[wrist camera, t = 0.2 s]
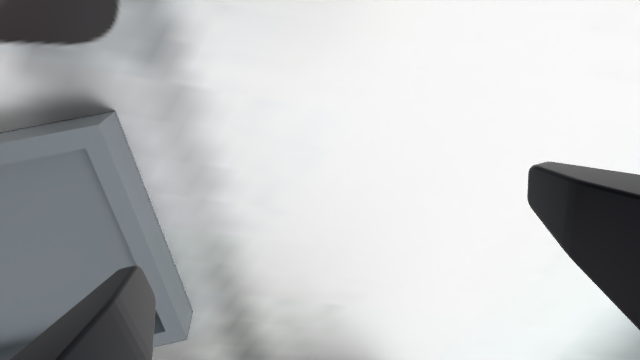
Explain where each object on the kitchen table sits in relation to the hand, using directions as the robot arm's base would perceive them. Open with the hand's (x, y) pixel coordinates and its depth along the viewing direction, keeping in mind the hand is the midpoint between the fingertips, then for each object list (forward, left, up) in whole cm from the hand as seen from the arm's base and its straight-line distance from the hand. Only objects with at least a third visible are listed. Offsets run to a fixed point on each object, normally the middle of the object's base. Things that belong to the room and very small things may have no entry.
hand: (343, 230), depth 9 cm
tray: (-6, +16, -15) cm, 23 cm away
